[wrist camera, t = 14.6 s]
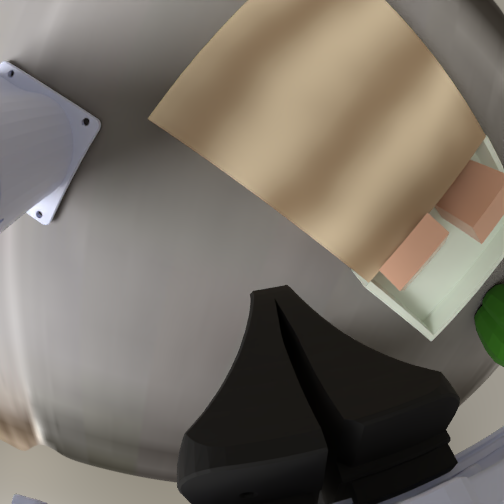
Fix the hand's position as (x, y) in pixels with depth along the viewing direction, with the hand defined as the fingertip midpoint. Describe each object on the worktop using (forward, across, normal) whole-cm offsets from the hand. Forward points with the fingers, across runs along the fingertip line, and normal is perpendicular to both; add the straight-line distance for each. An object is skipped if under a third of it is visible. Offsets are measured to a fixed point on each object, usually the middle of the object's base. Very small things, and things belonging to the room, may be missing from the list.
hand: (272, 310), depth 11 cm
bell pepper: (+11, -27, +15) cm, 33 cm away
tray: (+11, -17, +5) cm, 21 cm away
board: (+10, -7, -6) cm, 14 cm away
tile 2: (+8, -16, -1) cm, 18 cm away
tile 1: (+9, -11, +4) cm, 14 cm away
